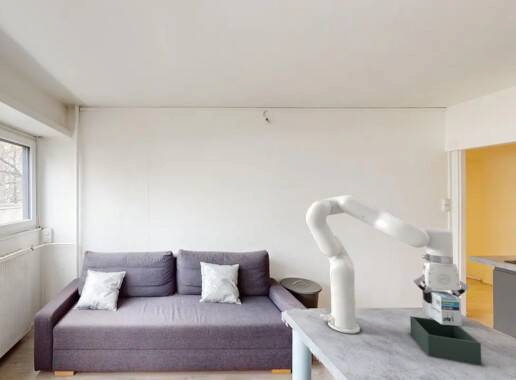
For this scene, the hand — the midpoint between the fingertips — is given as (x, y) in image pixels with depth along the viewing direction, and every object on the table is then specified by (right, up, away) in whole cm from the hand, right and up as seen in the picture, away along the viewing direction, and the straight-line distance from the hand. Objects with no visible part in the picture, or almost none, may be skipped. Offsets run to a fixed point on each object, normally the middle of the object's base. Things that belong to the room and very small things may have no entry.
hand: (440, 303), depth 105 cm
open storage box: (0, -18, 0) cm, 18 cm away
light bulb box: (0, -6, 0) cm, 6 cm away
